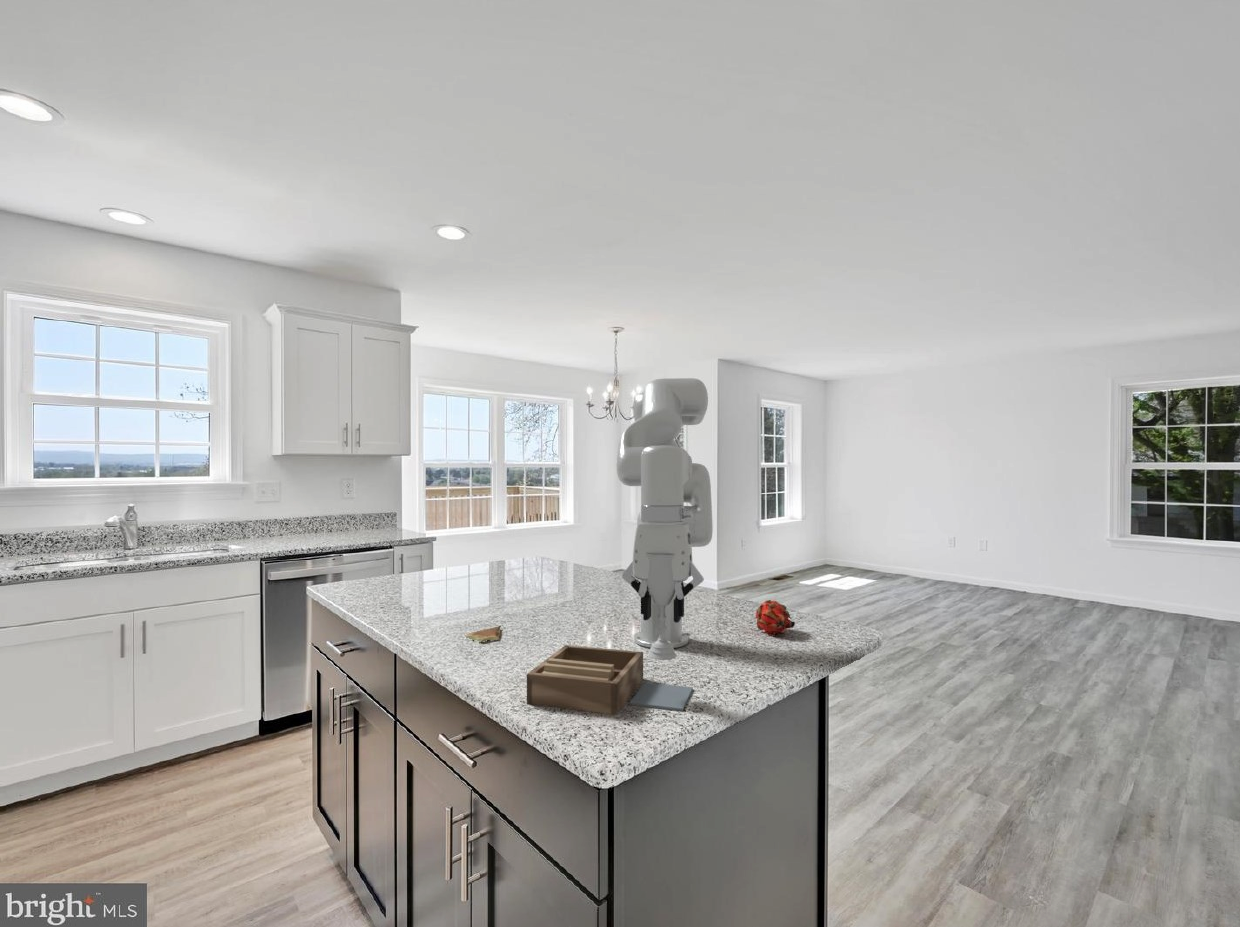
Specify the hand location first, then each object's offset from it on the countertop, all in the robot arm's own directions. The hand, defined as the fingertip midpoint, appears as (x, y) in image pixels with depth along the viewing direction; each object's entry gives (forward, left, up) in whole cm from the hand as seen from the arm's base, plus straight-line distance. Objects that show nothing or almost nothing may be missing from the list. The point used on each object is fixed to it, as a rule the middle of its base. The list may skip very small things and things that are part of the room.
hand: (662, 618), depth 102 cm
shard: (-25, -50, -14) cm, 57 cm away
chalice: (0, 0, -7) cm, 7 cm away
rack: (+1, -14, -14) cm, 19 cm away
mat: (0, 0, -14) cm, 14 cm away
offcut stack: (+6, -14, -14) cm, 20 cm away
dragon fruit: (-48, +17, -14) cm, 53 cm away
